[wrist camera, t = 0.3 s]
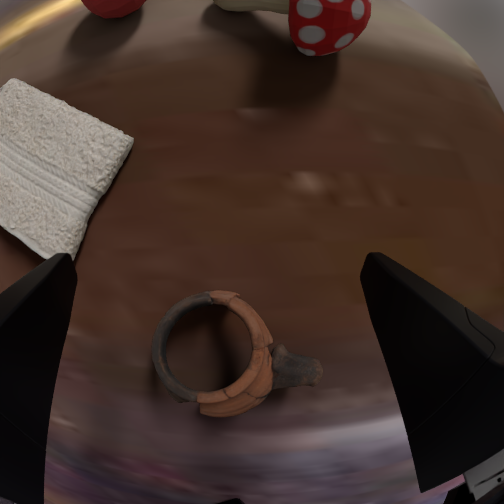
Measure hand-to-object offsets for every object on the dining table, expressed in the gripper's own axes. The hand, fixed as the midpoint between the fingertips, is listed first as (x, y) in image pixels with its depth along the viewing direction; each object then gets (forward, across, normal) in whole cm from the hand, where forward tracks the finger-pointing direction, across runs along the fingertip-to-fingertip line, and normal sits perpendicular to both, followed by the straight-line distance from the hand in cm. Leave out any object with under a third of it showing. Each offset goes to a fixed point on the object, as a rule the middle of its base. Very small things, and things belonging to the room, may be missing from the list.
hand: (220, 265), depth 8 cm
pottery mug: (+8, -2, +15) cm, 17 cm away
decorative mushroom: (+25, -6, -11) cm, 28 cm away
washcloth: (+17, +17, +2) cm, 24 cm away
